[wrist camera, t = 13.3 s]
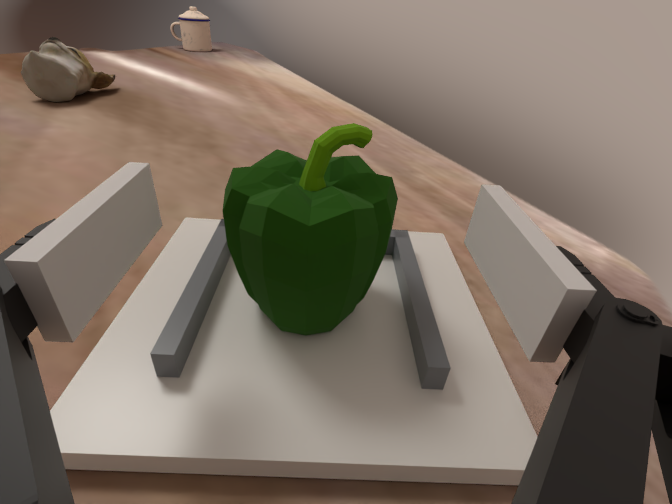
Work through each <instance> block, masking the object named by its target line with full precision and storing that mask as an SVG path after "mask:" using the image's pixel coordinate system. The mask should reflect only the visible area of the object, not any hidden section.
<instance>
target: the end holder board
mask: <svg viewBox="0 0 672 504" xmlns="http://www.w3.org/2000/svg"><path fill="white" fill-rule="evenodd" d="M50 414H51V418H52V421H53V425H54V429H55V433H56V436H57V440H58V444H59V448H60V451H61V455H62V459H63V463H64V466H65V469H73V470H101V471H129V472H157V473H185V474H213V475H241V476H269V477H297V478H325V479H352V480H380V481H408V482H436V483H464V484H492V485H519V483H520V481H521V478H522V476H523V473H524V471H525V468H526V466H527V463H528V460H529V458H530V455H531V453H532V450H533V448H534V445H535V443H536V440H537V438H538V437H537V435H536V433H535V430H534V428H533V426H532V424H531V422H530V420H529V417H528V415H527V413H526V411H525V409H524V407H523V405H522V402H521V400H520V398H519V396H518V394H517V392H516V389H515V387H514V385H513V383H512V381H511V379H510V377H509V374H508V372H507V370H506V368H505V366H504V364H503V361H502V359H501V357H500V355H499V353H498V351H497V348H496V346H495V344H494V342H493V340H492V338H491V336H490V333H489V331H488V329H487V327H486V325H485V323H484V320H483V318H482V316H481V314H480V312H479V310H478V308H477V305H476V303H475V301H474V299H473V297H472V295H471V292H470V290H469V288H468V286H467V284H466V282H465V280H464V277H463V275H462V273H461V271H460V269H459V267H458V264H457V262H456V260H455V258H454V256H453V254H452V252H451V249H450V247H449V245H448V243H447V241H446V239H445V236H444V234H442V233H425V232H409V231H408V230H391V235H390V238H389V242H388V246H387V250H386V254H385V256H384V258H383V260H382V262H381V265H380V267H379V269H378V271H377V274H376V276H375V278H374V280H373V282H372V284H371V286H370V288H369V290H368V291H367V293H366V295H365V297H364V299H363V300H362V301H360V302H359V303H358V304H357V305H356V307H355V309H354V311H353V312H352V313H351V314H350V315H349V316H347V317H346V318H345V319H344V320H343V321H342V322H341V323H340V324H339V325H338V326H336V327H335V328H334V329H333V330H332V331H330V332H324V333H318V334H312V335H300V334H295V333H290V332H285V331H281V330H280V329H279V328H278V327H277V326H276V325H275V324H274V323H273V322H272V321H271V320H270V319H269V318H268V317H267V315H266V314H265V313H264V312H263V311H262V310H261V309H260V308H259V305H258V304H257V303H256V302H255V301H254V300H253V299H252V298H251V297H250V296H249V295H248V293H247V291H246V289H245V287H244V285H243V283H242V281H241V279H240V276H239V274H238V272H237V269H236V267H235V264H234V261H233V259H232V256H231V254H230V251H229V248H228V246H227V239H226V232H225V224H224V219H221V220H216V219H200V218H185V219H184V221H183V222H182V223H181V225H180V226H179V228H178V229H177V231H176V232H175V233H174V235H173V236H172V238H171V239H170V241H169V242H168V243H167V245H166V246H165V248H164V249H163V251H162V252H161V253H160V255H159V256H158V258H157V259H156V261H155V262H154V263H153V265H152V266H151V268H150V269H149V271H148V272H147V273H146V275H145V276H144V278H143V279H142V281H141V282H140V283H139V285H138V286H137V288H136V289H135V291H134V292H133V293H132V295H131V296H130V298H129V299H128V301H127V302H126V303H125V305H124V306H123V308H122V309H121V311H120V312H119V313H118V315H117V316H116V318H115V319H114V321H113V322H112V323H111V325H110V326H109V328H108V329H107V331H106V332H105V333H104V335H103V336H102V338H101V339H100V341H99V342H98V343H97V345H96V346H95V348H94V349H93V351H92V352H91V353H90V355H89V356H88V358H87V359H86V361H85V362H84V363H83V365H82V366H81V368H80V369H79V371H78V372H77V373H76V375H75V376H74V378H73V379H72V381H71V382H70V383H69V385H68V386H67V388H66V389H65V391H64V392H63V393H62V395H61V396H60V398H59V399H58V401H57V402H56V403H55V405H54V406H53V408H52V409H51V411H50Z"/></svg>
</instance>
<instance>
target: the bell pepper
mask: <svg viewBox="0 0 672 504" xmlns="http://www.w3.org/2000/svg"><path fill="white" fill-rule="evenodd" d="M371 138H372V130H370V129H369V128H367V127H364V126H361V125H357V124H354V123H353V124H347V125H342V126H336V127H332V128H331V129H329V130H328V131H327V132H325V133H324V134H322V135H321V136H320V137H318V138H317V139H316V140H314V143H313V146H312V148H311V151H310V154H309V157H308V159H307V160H304V159H301V158H299V157H296V156H294V155H292V154H290V153H288V152H285V151H281V150H275V151H274V152H272V153H271V154H269V155H268V156H266V157H265V158H263V159H262V160H260V161H259V162H257V163H255V164H254V165H252V166H251V167H241V168H233V170H232V172H231V175H230V178H229V181H228V183H227V186H226V189H225V195H224V204H223V217H224V224H225V232H226V239H227V246H228V248H229V251H230V254H231V256H232V259H233V261H234V264H235V267H236V269H237V272H238V274H239V276H240V279H241V281H242V283H243V285H244V287H245V289H246V291H247V293H248V295H249V296H250V297H251V298H252V299H253V300H254V301H255V302H256V303H257V304H258V305H259V308H260V309H261V310H262V311H263V312H264V313H265V314H266V315H267V317H268V318H269V319H270V320H271V321H272V322H273V323H274V324H275V325H276V326H277V327H278V328H279V329H280V330H281V331H285V332H290V333H295V334H300V335H312V334H318V333H324V332H330V331H332V330H333V329H334V328H335V327H336V326H338V325H339V324H340V323H341V322H342V321H343V320H344V319H345V318H346V317H347V316H349V315H350V314H351V313H352V312H353V311H354V309H355V307H356V305H357V304H358V303H359V302H360V301H362V300H363V299H364V297H365V295H366V293H367V291H368V290H369V288H370V286H371V284H372V282H373V280H374V278H375V276H376V274H377V271H378V269H379V267H380V265H381V262H382V260H383V258H384V256H385V254H386V250H387V246H388V242H389V238H390V235H391V230H392V225H393V220H394V215H395V210H396V205H397V200H398V198H397V194H396V190H395V187H394V183H393V179H392V177H388V176H383V175H378V174H376V173H375V172H374V171H373V170H372V169H371V168H370V167H369V166H368V165H367V164H366V163H365V162H364V161H363V160H362V159H361V158H360V156H341V157H331V156H332V153H333V152H335V151H336V150H337V149H339V148H340V147H341V146H343V145H349V144H354V145H355V146H357V147H359V148H364V147H365V146H366V145H367V144H368V143H369V142H370V140H371Z"/></svg>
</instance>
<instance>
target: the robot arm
mask: <svg viewBox="0 0 672 504" xmlns="http://www.w3.org/2000/svg"><path fill="white" fill-rule="evenodd" d="M161 226H162V221H161V217H160V212H159V207H158V202H157V198H156V193H155V188H154V184H153V179H152V174H151V169H150V165H149V163H136V162H128V163H127V164H126V165H125V166H123V167H122V168H121V169H119V170H118V171H117V172H116V173H114V174H113V175H112V176H111V177H109V178H108V179H107V180H105V181H104V182H103V183H102V184H100V185H99V186H98V187H97V188H95V189H94V190H93V191H91V192H90V193H89V194H88V195H86V196H85V197H84V198H83V199H81V200H80V201H79V202H77V203H76V204H75V205H74V206H72V207H71V208H70V209H69V210H67V211H66V212H65V213H63V214H62V215H61V216H60V217H58V218H57V219H53V220H50V221H48V222H46V223H44V224H41V225H39V226H37V227H36V228H34V229H33V230H32V231H30V232H29V233H28V234H26V235H25V238H21V239H20V240H18V241H17V242H16V243H15V245H12V246H10V247H9V248H8V249H7V250H5V251H4V252H3V253H1V254H0V504H74V500H73V496H72V493H71V489H70V485H69V481H68V478H67V474H66V470H65V466H64V463H63V459H62V455H61V451H60V448H59V444H58V440H57V436H56V433H55V429H54V425H53V421H52V418H51V414H50V410H49V406H48V403H47V399H46V395H45V391H44V388H43V384H42V380H41V376H40V373H39V369H38V365H37V361H36V358H35V354H34V350H33V346H32V344H31V342H30V340H29V338H28V337H27V336H28V335H29V334H30V333H31V332H32V331H33V330H34V329H35V327H36V326H37V327H38V329H39V331H40V333H41V334H42V336H43V338H44V340H45V341H51V342H74V341H75V339H76V338H77V337H78V335H79V334H80V333H81V332H82V330H83V329H84V328H85V326H86V325H87V324H88V322H89V321H90V320H91V318H92V317H93V316H94V314H95V313H96V312H97V311H98V309H99V308H100V307H101V305H102V304H103V303H104V301H105V300H106V299H107V297H108V296H109V295H110V293H111V292H112V291H113V290H114V288H115V287H116V286H117V284H118V283H119V282H120V280H121V279H122V278H123V276H124V275H125V274H126V272H127V271H128V270H129V269H130V267H131V266H132V265H133V263H134V262H135V261H136V259H137V258H138V257H139V255H140V254H141V253H142V251H143V250H144V249H145V247H146V246H147V245H148V244H149V242H150V241H151V240H152V238H153V237H154V236H155V234H156V233H157V232H158V230H159V229H160V228H161ZM464 243H465V245H466V247H467V249H468V250H469V252H470V254H471V256H472V258H473V260H474V261H475V263H476V265H477V267H478V269H479V270H480V272H481V274H482V276H483V278H484V280H485V281H486V283H487V285H488V287H489V289H490V290H491V292H492V294H493V296H494V298H495V299H496V301H497V303H498V305H499V307H500V309H501V310H502V312H503V314H504V316H505V318H506V319H507V321H508V323H509V325H510V327H511V329H512V330H513V332H514V334H515V336H516V338H517V339H518V341H519V343H520V345H521V347H522V349H523V350H524V352H525V354H526V356H527V358H528V359H529V361H532V362H555V361H556V359H557V358H558V356H559V354H560V352H561V351H562V349H563V348H564V349H565V351H566V352H567V354H568V355H569V357H570V360H569V362H568V363H567V365H566V367H565V368H564V370H563V371H562V373H561V375H560V376H559V378H558V380H557V381H556V383H555V384H556V385H558V387H557V389H556V392H555V394H554V397H553V399H552V402H551V404H550V407H549V410H548V412H547V415H546V417H545V420H544V422H543V425H542V427H541V430H540V432H539V435H538V438H537V440H536V443H535V445H534V448H533V450H532V453H531V455H530V458H529V460H528V463H527V466H526V468H525V471H524V473H523V476H522V478H521V481H520V483H519V486H518V488H517V491H516V493H515V496H514V499H513V501H512V504H643V500H644V491H645V482H646V473H647V465H648V456H649V447H650V438H651V429H652V433H653V437H654V441H655V445H656V449H657V453H658V457H659V462H660V466H661V470H662V474H663V478H664V482H665V486H666V490H667V494H668V498H669V502H670V504H672V327H669V326H665V325H662V321H661V320H660V319H659V318H658V316H657V315H656V314H655V313H653V312H652V311H650V310H649V309H648V308H646V307H644V306H642V305H640V304H638V303H636V302H633V301H630V300H626V299H621V298H615V297H614V296H613V295H612V294H611V293H610V292H609V291H608V290H607V288H606V287H605V286H604V285H603V284H602V283H601V282H600V281H599V280H598V279H597V278H596V277H595V276H594V275H591V272H590V271H589V270H588V269H587V268H586V267H584V265H583V263H582V262H581V261H580V260H579V259H578V258H577V257H576V256H575V255H573V254H572V253H570V252H569V251H567V250H565V249H564V248H562V247H561V246H555V245H554V244H553V242H552V241H551V240H550V239H549V238H548V237H547V236H546V235H545V234H544V233H543V232H542V230H541V229H540V228H539V227H538V226H537V225H536V224H535V223H534V222H533V221H532V220H531V219H530V217H529V216H528V215H527V214H526V213H525V212H524V211H523V210H522V209H521V208H520V207H519V205H518V204H517V203H516V202H515V201H514V200H513V199H512V198H511V197H510V196H509V195H508V194H507V192H506V191H505V190H504V189H503V188H502V187H501V186H498V185H481V188H480V192H479V195H478V198H477V201H476V205H475V208H474V211H473V215H472V218H471V221H470V224H469V228H468V231H467V234H466V238H465V241H464Z"/></svg>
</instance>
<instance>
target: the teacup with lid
mask: <svg viewBox="0 0 672 504" xmlns="http://www.w3.org/2000/svg"><path fill="white" fill-rule="evenodd" d="M196 10H197V8H196V7H190V10H189V11H186V12H185V13H184V14H182V15H179V20H180V22H174V23H172V25H171V32H172V35H173V36H174V37H175V38H176V39H177V40H180V41H182V42H183V49H184V50H187V51H194V52H209V51H211V50H212V45H211V36H210V25H209V21H210V20H209V17H207V16H205V15H203V14H202V13H200V12H199V11H196ZM176 24H177V25H180V27H181V35H182V38H179V37H177V36H176V35H175V33H174V30H173V27H174V25H176Z"/></svg>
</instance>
